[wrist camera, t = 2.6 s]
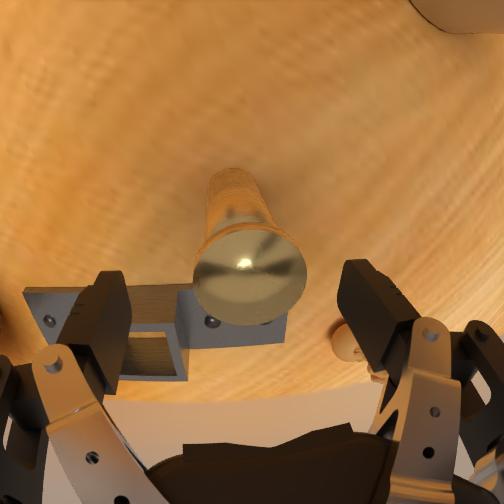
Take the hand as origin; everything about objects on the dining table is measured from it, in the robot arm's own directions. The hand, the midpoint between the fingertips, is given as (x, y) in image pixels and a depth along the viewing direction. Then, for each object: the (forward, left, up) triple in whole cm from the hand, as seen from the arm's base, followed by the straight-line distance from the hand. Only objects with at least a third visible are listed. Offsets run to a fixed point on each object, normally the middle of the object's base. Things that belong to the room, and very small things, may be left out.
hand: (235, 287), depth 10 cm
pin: (-1, 0, -11) cm, 11 cm away
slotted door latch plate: (+7, +11, -11) cm, 17 cm away
